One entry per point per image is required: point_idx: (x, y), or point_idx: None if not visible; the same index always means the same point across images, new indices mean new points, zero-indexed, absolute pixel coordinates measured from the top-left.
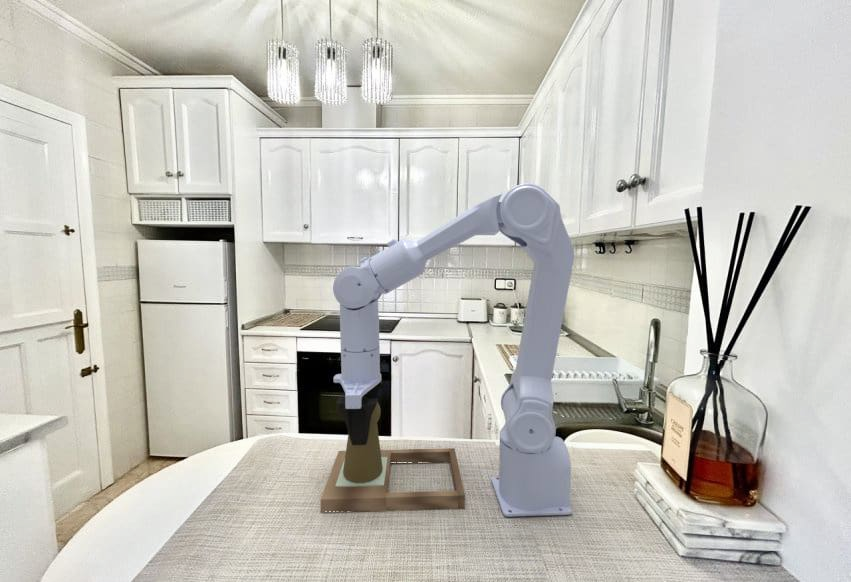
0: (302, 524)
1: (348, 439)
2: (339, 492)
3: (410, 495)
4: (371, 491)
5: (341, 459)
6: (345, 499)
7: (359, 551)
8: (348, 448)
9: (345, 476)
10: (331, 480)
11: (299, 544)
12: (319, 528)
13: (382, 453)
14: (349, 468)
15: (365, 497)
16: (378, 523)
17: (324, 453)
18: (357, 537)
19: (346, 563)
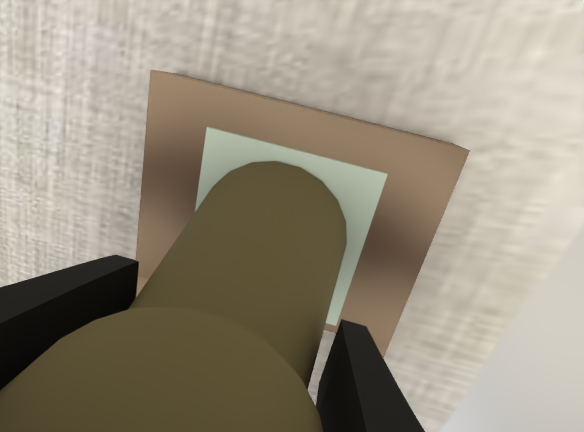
0: (136, 13)
1: (203, 239)
2: (177, 140)
3: None
4: (166, 241)
5: (389, 158)
6: (144, 158)
7: (40, 174)
8: (205, 219)
9: (238, 168)
10: (250, 112)
11: (63, 12)
12: (115, 71)
13: (372, 315)
14: (212, 193)
15: (143, 220)
16: (118, 230)
17: (560, 77)
18: (79, 174)
19: (9, 142)
